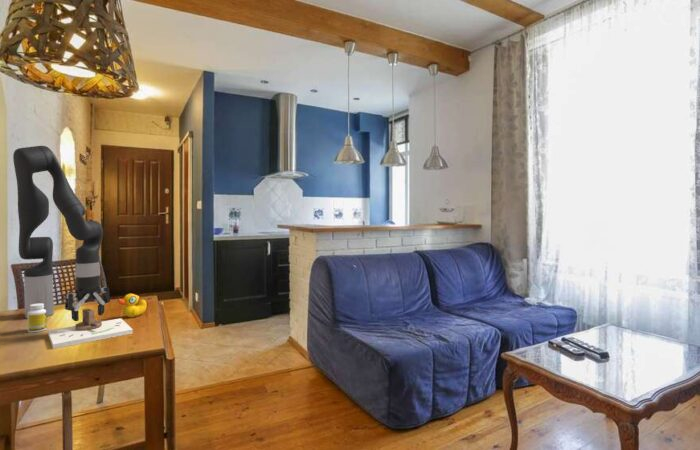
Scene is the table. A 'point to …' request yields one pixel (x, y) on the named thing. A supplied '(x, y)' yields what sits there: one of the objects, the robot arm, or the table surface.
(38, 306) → the supplement bottle
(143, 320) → the table surface
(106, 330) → the dial board
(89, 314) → the knob
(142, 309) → the duckling
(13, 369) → the table surface
